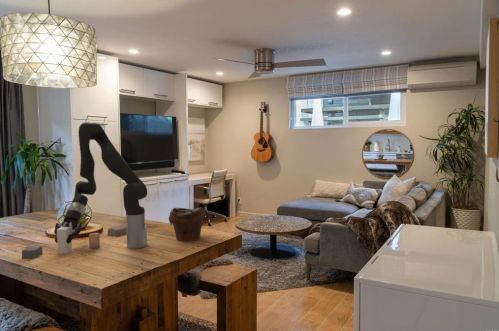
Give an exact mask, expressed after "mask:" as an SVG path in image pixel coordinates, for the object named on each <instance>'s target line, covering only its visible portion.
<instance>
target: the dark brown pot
mask: <svg viewBox="0 0 499 331" xmlns="http://www.w3.org/2000/svg"><path fill="white" fill-rule="evenodd" d="M204 214H205V210H204V207H202V206H201V207H198V208H185V207H184V208H183V207H173V208H172V209H171V210H170V212H169V216H168V221H169V224H170V225H173V228H174V233H175V238H176V240H178V241H181V242H193V241H196V240H199V239H200V238H201V231H202V226H203V219H204Z"/></svg>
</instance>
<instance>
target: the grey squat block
mask: <svg viewBox="0 0 499 331" xmlns="http://www.w3.org/2000/svg"><path fill="white" fill-rule="evenodd" d="M42 255H43V246H41V245H40V246H38V245H37V246H33V245H31V246H28V247H26V248H24V249H21V257H22V258H21V259H36V258H38V257H39V256H40V257H41V256H42Z"/></svg>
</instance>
